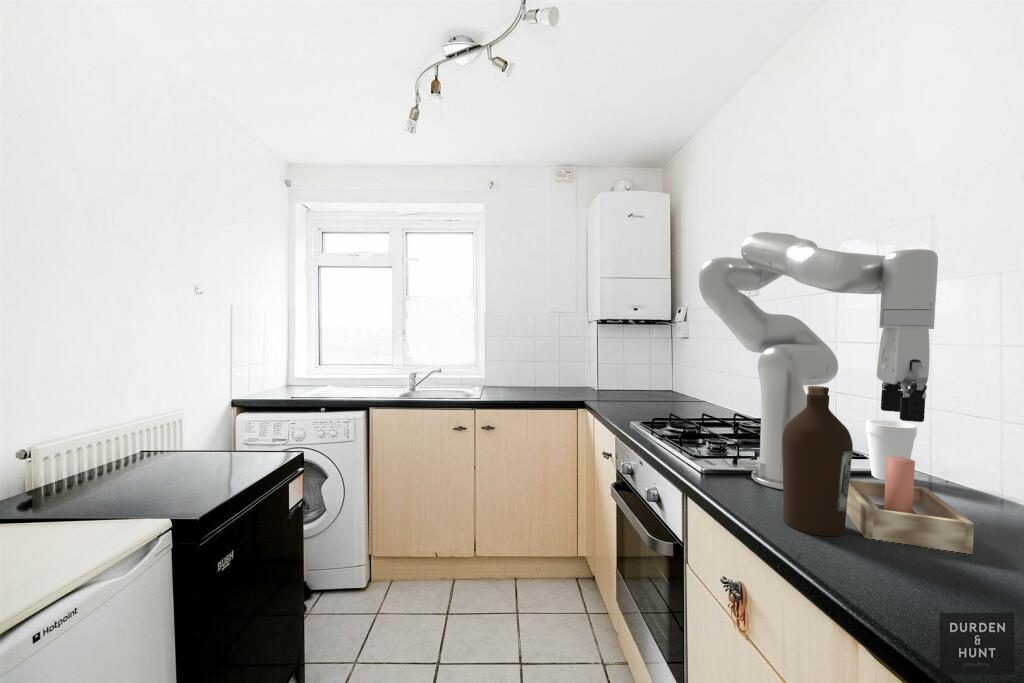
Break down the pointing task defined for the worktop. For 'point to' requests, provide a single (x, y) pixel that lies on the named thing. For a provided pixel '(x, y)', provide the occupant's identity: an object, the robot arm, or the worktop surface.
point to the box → (909, 519)
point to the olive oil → (816, 468)
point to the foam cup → (888, 443)
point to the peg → (899, 484)
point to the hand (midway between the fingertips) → (900, 415)
